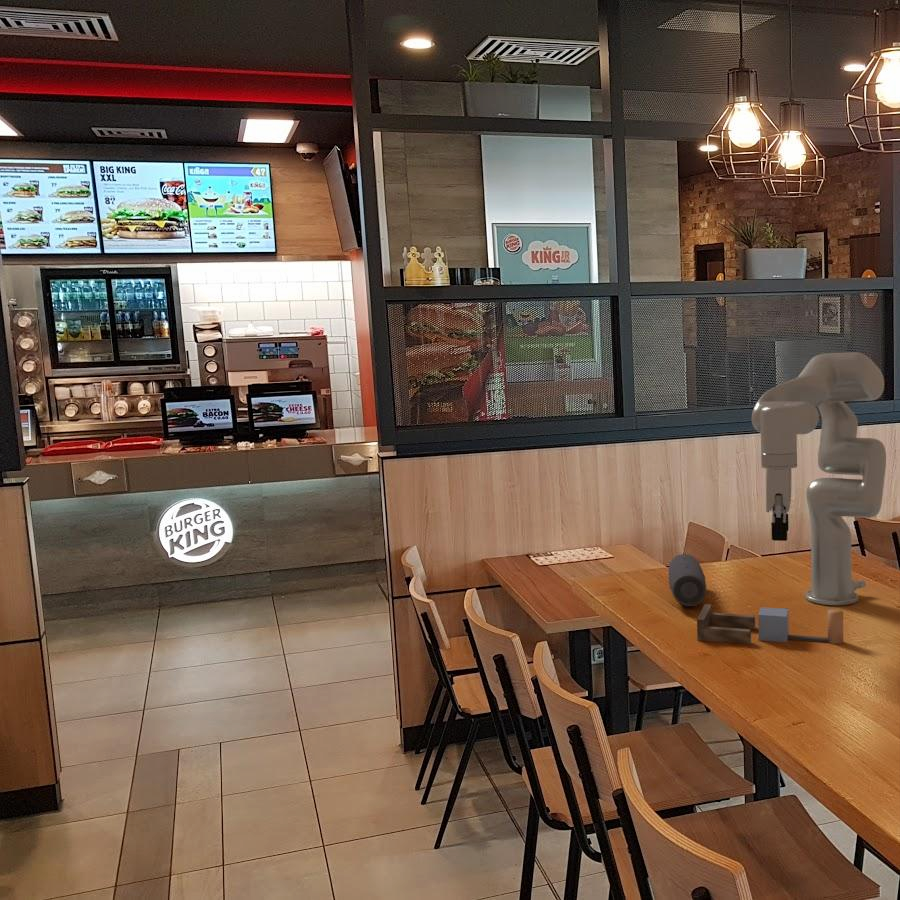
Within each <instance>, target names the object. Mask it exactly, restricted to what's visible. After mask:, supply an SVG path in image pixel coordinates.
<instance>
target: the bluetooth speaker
mask: <svg viewBox="0 0 900 900" xmlns="http://www.w3.org/2000/svg"><path fill="white" fill-rule="evenodd" d="M668 584H669V589H670V591H671V593H672V595H673V597H674V599H675V601H677V602H678V603H679V604H681V605H683V606H684V607H694V606H698V605H699V604H701V603H702V602H703V601H704V600H705V597H706V595H707V594H706V593H707V583H706V576H705V574H704V571H703V568H702V566H701V565H700V563H699V561H698V560H697V559H696V558H695V557H693V556H692V555H690V554H687V553H682V554H677V555H676V556H675V557H673V558H672V560H671V561H670V563H669V565H668Z"/></svg>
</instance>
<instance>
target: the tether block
mask: <svg viewBox="0 0 900 900" xmlns="http://www.w3.org/2000/svg"><path fill="white" fill-rule="evenodd" d="M757 617H758V641H761V642H762V641H763V642H772V643H773V642H774V643H775V642H776V643H788V640H791V641H792V640H793V641H805V642H819V643H829V644H831V645H842V644H844V611H843V610H841V609H828V610H827V637H821V636H808V635H796V634H795V635H793V634H790V632H789V631H790V629H789V628H790V627H789V625H790V623H789V621H790V620H789V608H777V607H765V606H764V607H763V606H761V607H760V609H759V612H758V616H757Z"/></svg>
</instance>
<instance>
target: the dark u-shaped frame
mask: <svg viewBox="0 0 900 900" xmlns="http://www.w3.org/2000/svg"><path fill="white" fill-rule="evenodd" d="M712 611H713V609H712V604H710V603H704V605H703V606H702V608H701V611H700V613H699V615H698V617H697V619H696V631H697V632H696V634H697V635H696V638H697V641H700V642H701V641H703V642H712V643H713V642H715V643H727V644H739V645H751V644H752V630H753V631H755V630H756V615H754V614H753V615H752V614H751V615H750V614H739V613H736V614H735V613H725V612H723V613H722V612H720V613H719V612H712Z"/></svg>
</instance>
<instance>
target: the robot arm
mask: <svg viewBox="0 0 900 900" xmlns="http://www.w3.org/2000/svg"><path fill="white" fill-rule="evenodd" d="M884 389H885V378H884V375H883V372H882V371H881V370H880V368H879V367H878V366H877V365H876V363H875V362H874V361H873V360H872V359H871V358H870V357H868V356H867V355H866V354H864V353H862V352H857V351H854V352H853V351H852V352H850V351H849V352H827V353H826V352H825V353H820V354H818V355H817V354H816V355H815V356H813V357H812V358H811V359H810V360H809V361H808V363H807V364H806V365H805V367H804V368H803V369H802V371H801V372H800V373H799V375H798V376H797V377H796V378H793V379H790V380H787V381H786V382H783V383H781V384H778V385H775V386H774V387H772V388H770V389H768V390H766V391H765V392H764V393H763V394H762V395H761V397H759V399H758V401H756V403H755V405H754V407H753V409H752V412H751V413H752V414H751V424H752V427H753V428H754V430H755V431H757V432H758V433H759V434H760V455H761V456H760V458H761V459H760V461H761V462H760V463H761V464H760V465H761V466H760V467H761V468H763V469H765V470H766V471H765V511H766V512H767V513H770V512H772V515H771V517H772V519H771V520H772V522H771V541H776V542H777V541H779V542H780V541H781V542H783V541H784V542H786V541H787V540H788V532H789V529H790V528H789V527H790V526H789V512H790V508H791V502H792V499H791V498H792V469H796V468H798V441H797V439H798V438H797V435H807V434H810V433H811V432H813V431H815V429H816V427H817V426H818V424H819V419H820V416H821V430H820V436H819V437H820V438H819V446H818V453H817V454H818V455H817V464H818V468H819V469H820V470H821V471H822V472H824V473H826V474H832V475H846V476H861V477H862V479H860V478H859V479H857V478H845V477H844V478H842V477H841V478H840V477H819V478H816V479H814V480H812V481H810V483H808V485H807V488H806V495H805V496H806V503H807V508H808V512H809V521H810V522H809V523H810V551H811V552H810V558H811V566H810V568H811V569H810V570H811V589H809V590H807V591H806V592H805V593H804V597H805V599H806V600H808V601H810V602H811V603H814V604H819V605H826V606H848V605H849V606H850V605H852V604H856V603H858V601H859V595H858V594H857V593H856V591H857V589H864V588H866V581H865V580H856V581H855V580H853V579H852V532H851V529H850V527H849V525H848V523H847V521H845V520H844V518H843V517H848V518H849V517H851V518H853V517H854V518H865V519H867V518H868V519H869V518H870V519H871V518H874V517H876V516H878V514H879V513H880V511H881V508H882V502H883V496H884V487H885V485H884V484H885V477H886V467H887V452H886V446H885V445H884V443H883V442H882V441H881V440H879V439H877V438H872V437H857V435H858V425H859V421H858V418H857V416H856V415H855V413H854V412H853V409H851V408H850V407H849V406H848V405H847V404H846V403H845V402H864V401H865V402H870V401H871V402H872V401H875V400H877V399H879V398H881V396H882V395H883V392H884ZM817 407H818V409H819V411H818V409H817ZM819 412H820V415H819Z"/></svg>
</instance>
